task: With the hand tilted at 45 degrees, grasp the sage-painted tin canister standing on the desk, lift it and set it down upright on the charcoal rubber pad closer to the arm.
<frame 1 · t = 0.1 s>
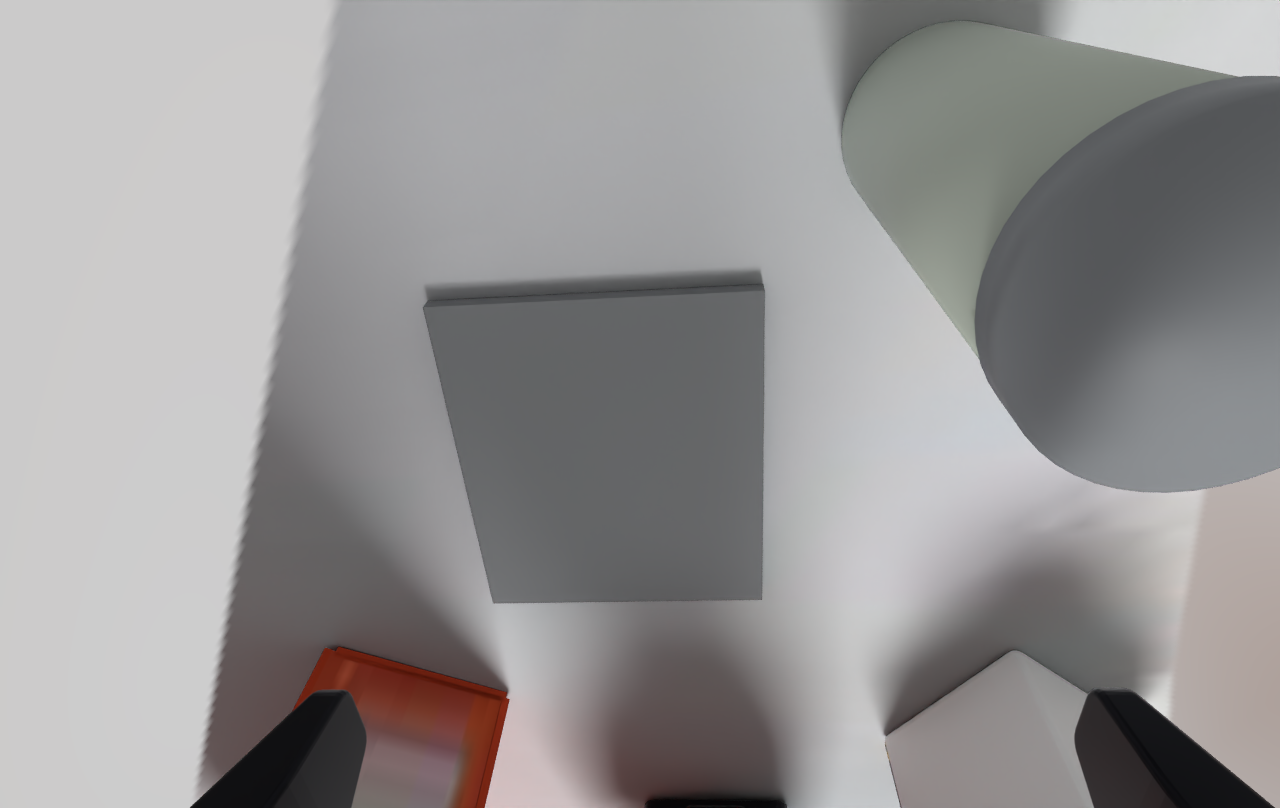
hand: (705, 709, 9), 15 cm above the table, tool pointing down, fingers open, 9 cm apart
file binder: (389, 780, 36), on the table
medicine bottle: (1002, 724, 31), on the table
charcoal pad: (611, 460, 25), on the table
tin canister: (940, 129, 19), on the table
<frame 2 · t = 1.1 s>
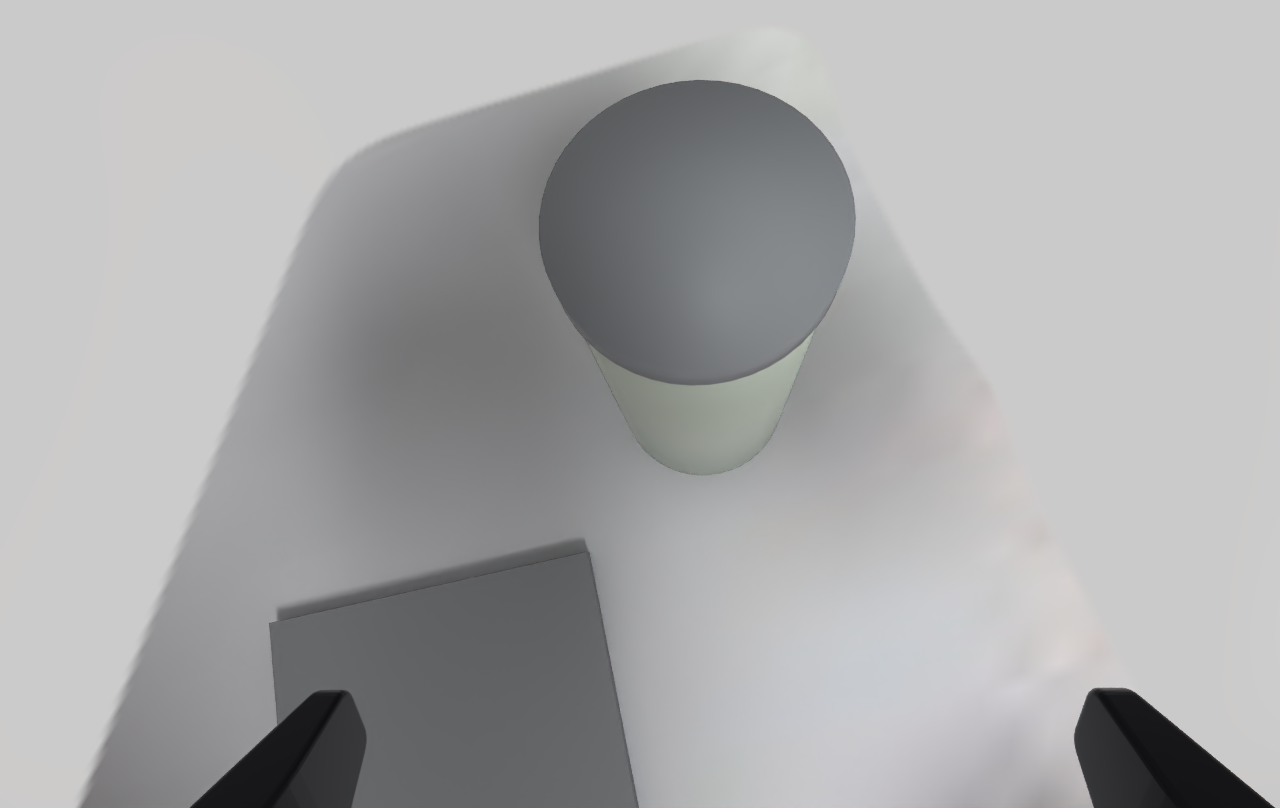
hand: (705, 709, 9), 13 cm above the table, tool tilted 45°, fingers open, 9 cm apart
charcoal pad: (461, 796, 22), on the table
tin canister: (702, 397, 24), on the table
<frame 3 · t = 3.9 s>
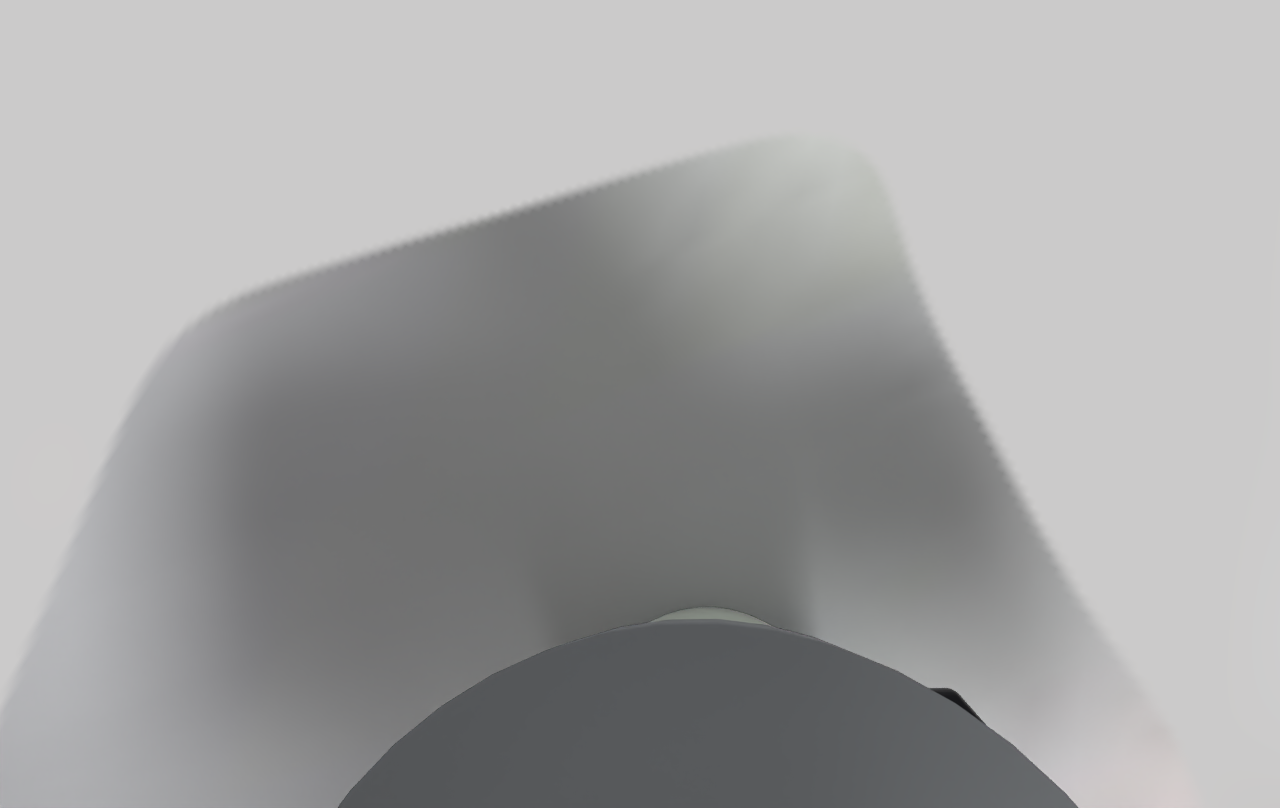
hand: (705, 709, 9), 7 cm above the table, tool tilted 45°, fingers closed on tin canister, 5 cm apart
tin canister: (709, 734, 15), on the table, touching gripper
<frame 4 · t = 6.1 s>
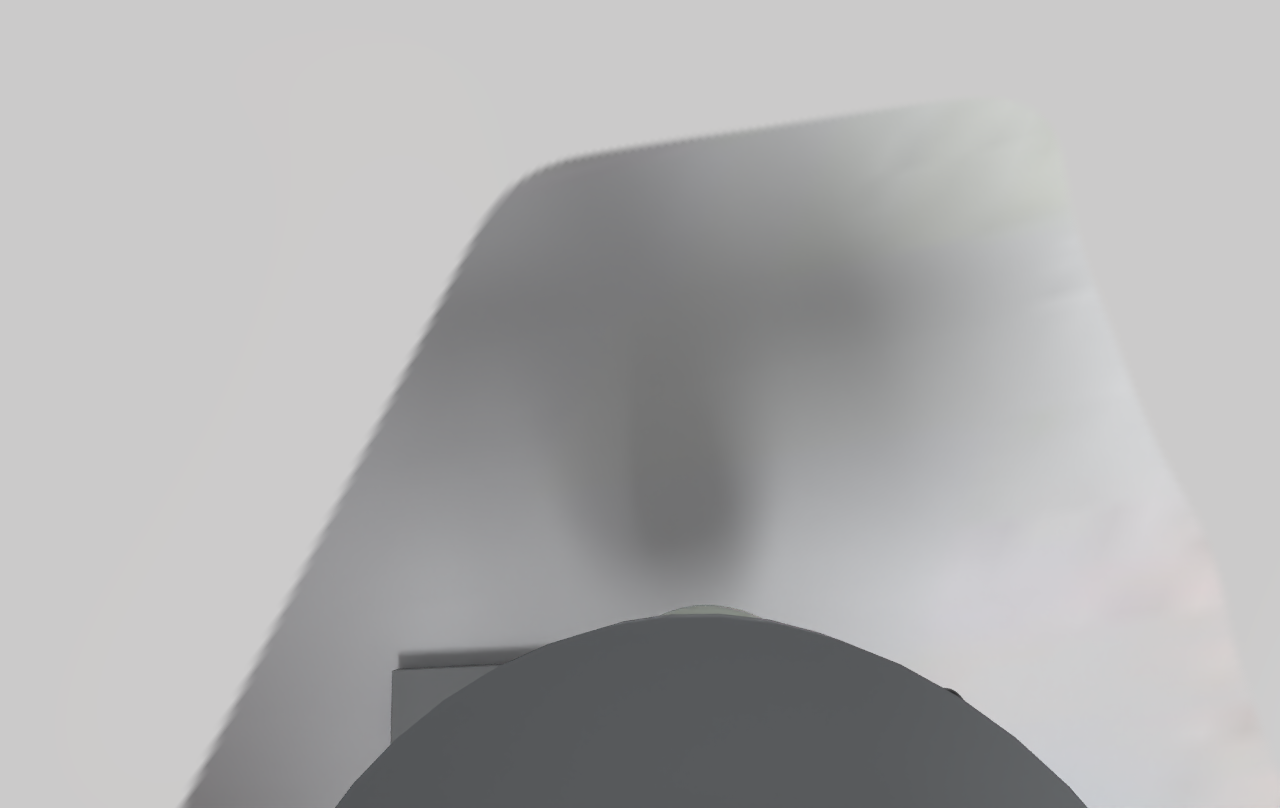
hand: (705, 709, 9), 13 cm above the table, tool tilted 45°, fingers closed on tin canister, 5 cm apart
tin canister: (710, 732, 15), point 6 cm above the table, touching gripper
when the fingers open (8 cm above the table, at t = 8.5 s): tin canister drops 1 cm, resting on charcoal pad.
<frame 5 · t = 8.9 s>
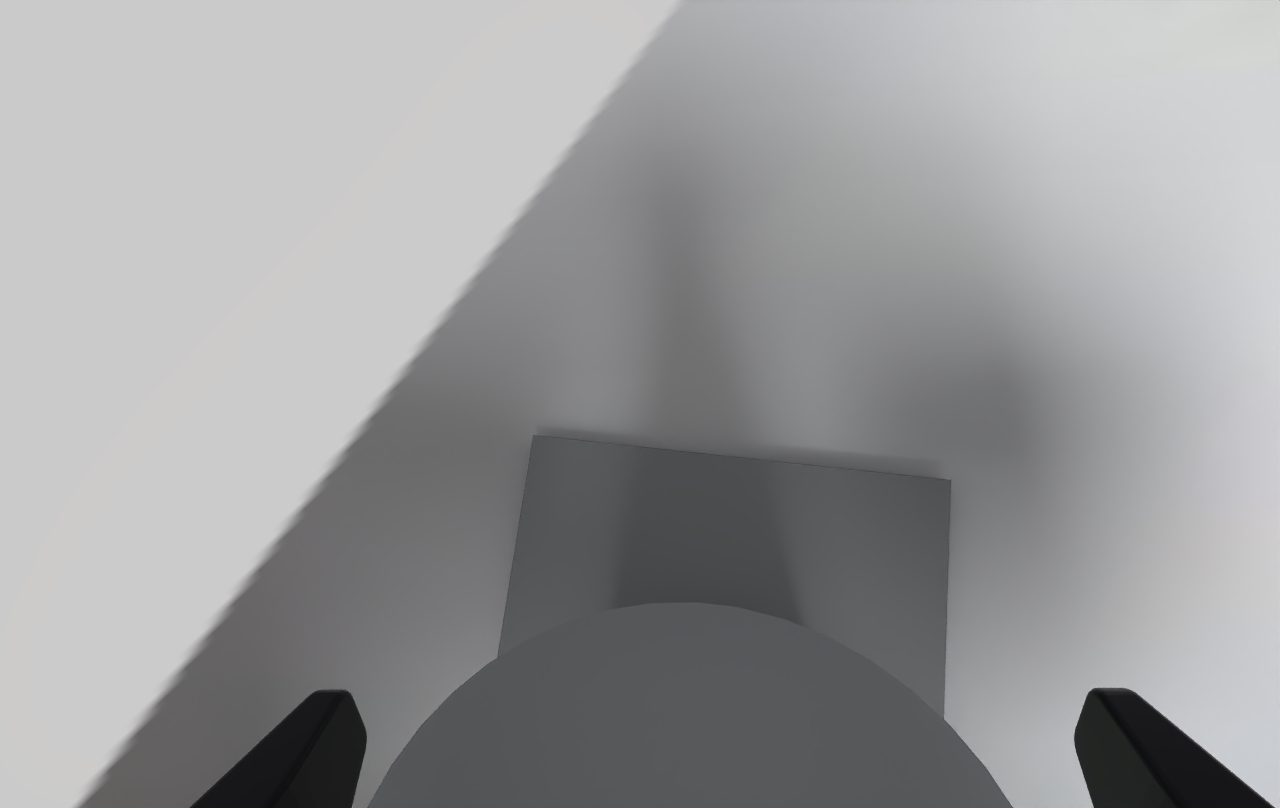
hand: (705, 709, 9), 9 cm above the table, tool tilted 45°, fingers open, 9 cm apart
charcoal pad: (709, 718, 17), on the table
tin canister: (710, 724, 17), point 1 cm above the table, touching charcoal pad
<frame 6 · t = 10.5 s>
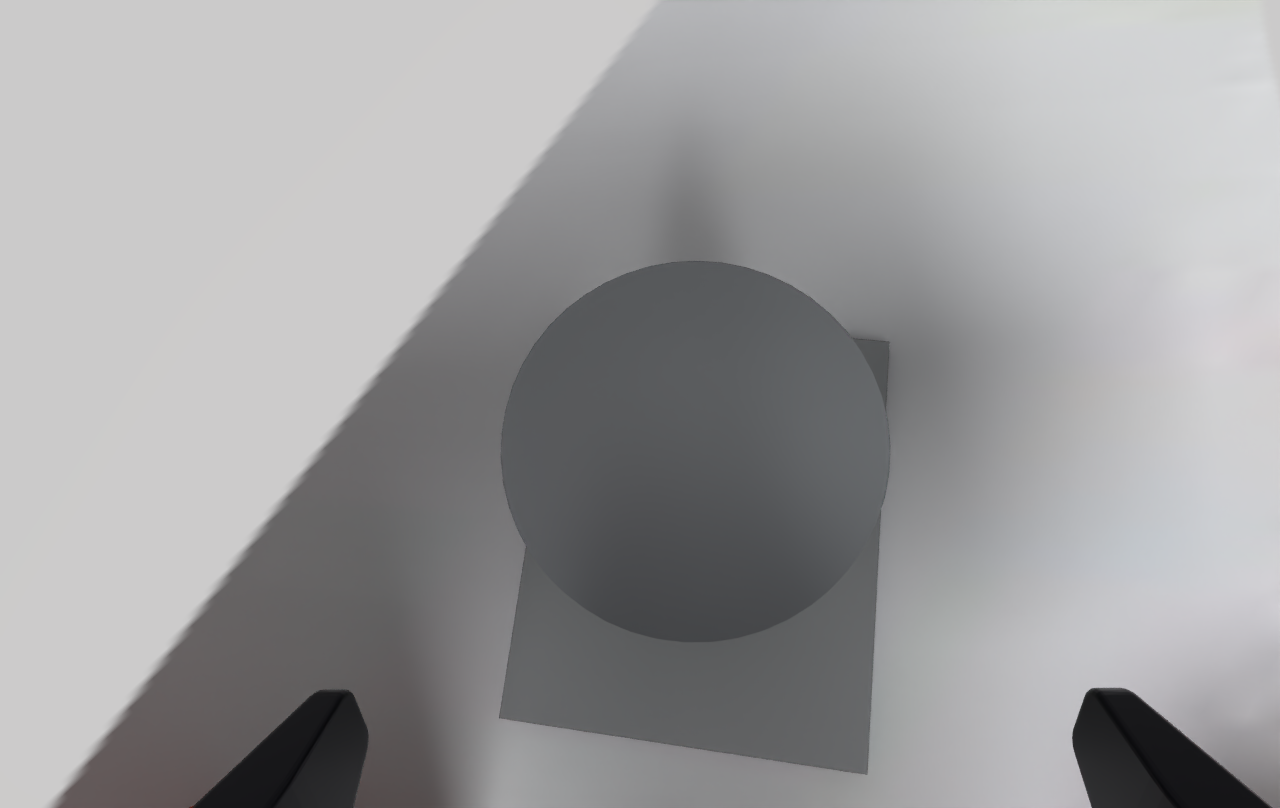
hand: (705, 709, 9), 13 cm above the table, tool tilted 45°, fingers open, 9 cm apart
charcoal pad: (701, 524, 22), on the table
tin canister: (702, 524, 22), point 1 cm above the table, touching charcoal pad
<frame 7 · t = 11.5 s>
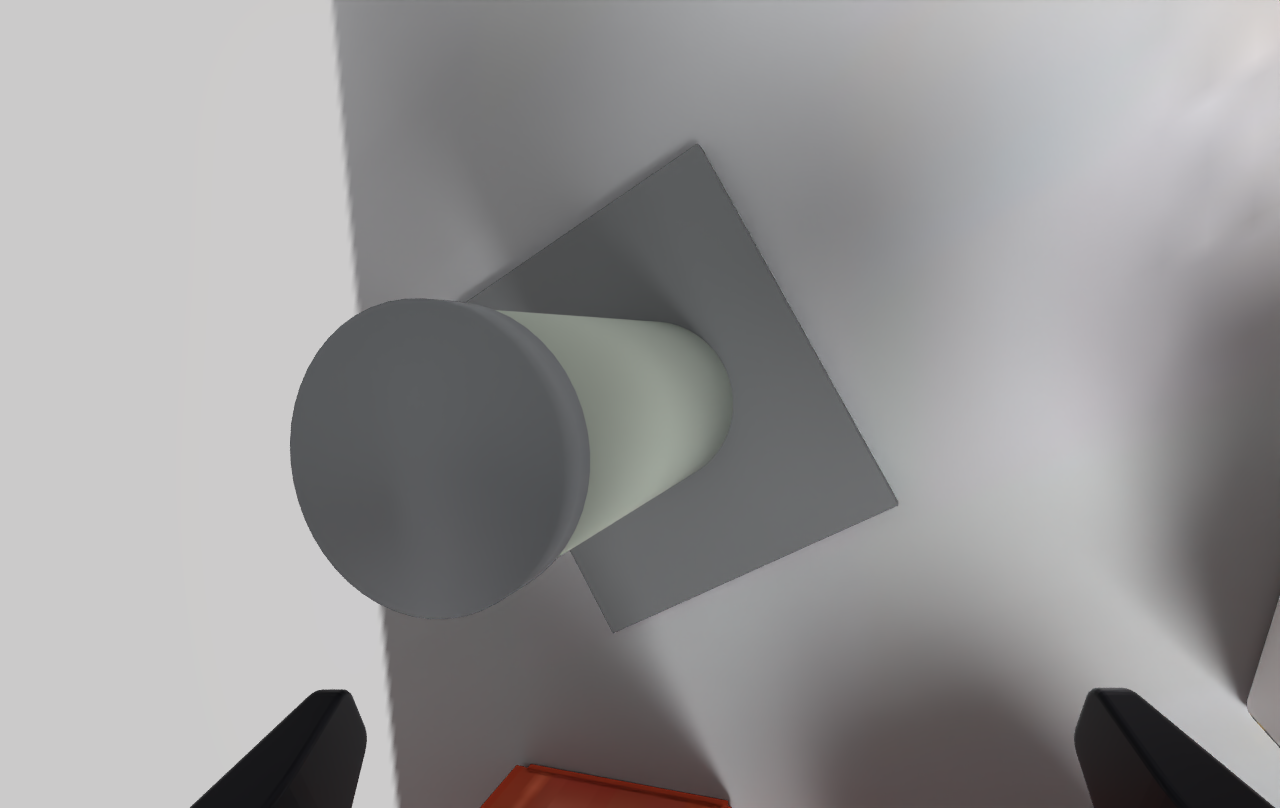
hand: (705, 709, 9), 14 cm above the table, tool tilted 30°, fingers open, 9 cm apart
charcoal pad: (657, 399, 24), on the table
tin canister: (653, 402, 23), point 1 cm above the table, touching charcoal pad
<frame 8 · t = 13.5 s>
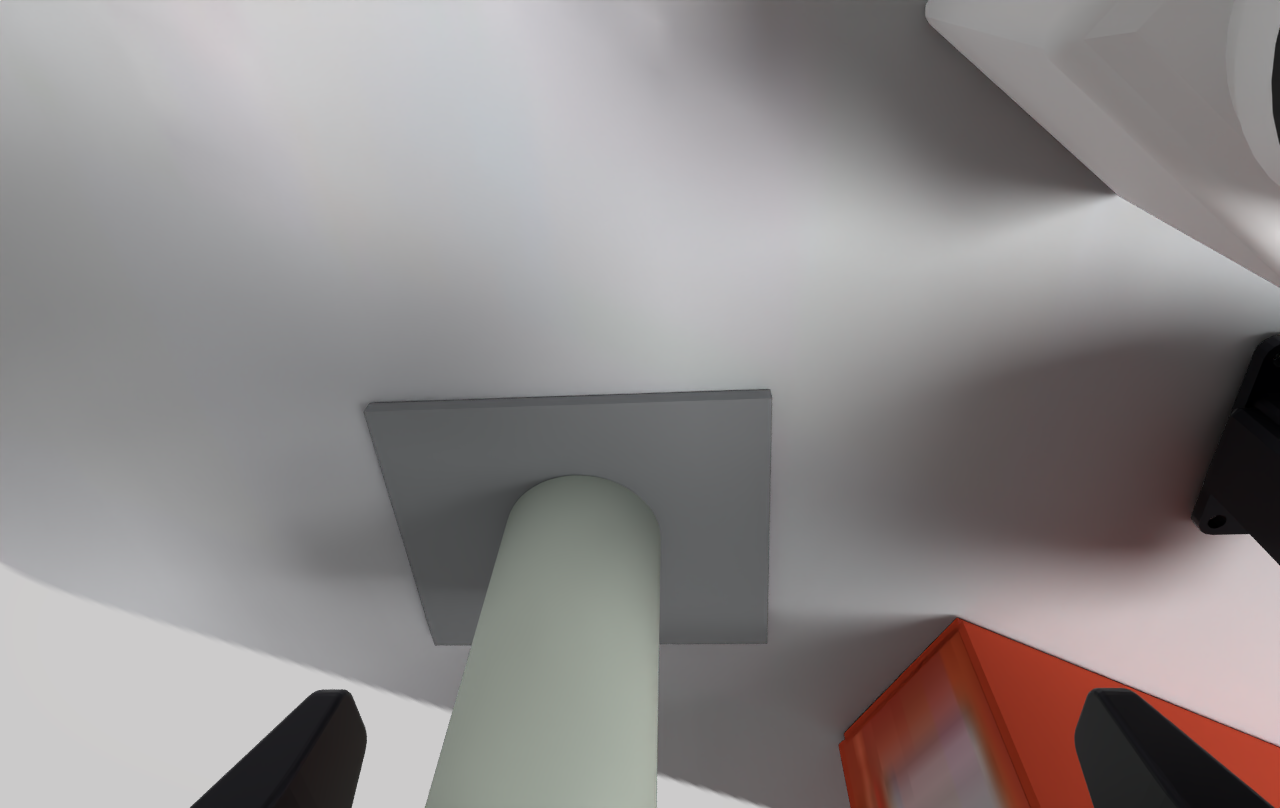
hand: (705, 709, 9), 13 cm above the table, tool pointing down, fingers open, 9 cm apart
file binder: (1083, 745, 29), on the table
charcoal pad: (584, 527, 25), on the table
tin canister: (583, 537, 24), point 1 cm above the table, touching charcoal pad
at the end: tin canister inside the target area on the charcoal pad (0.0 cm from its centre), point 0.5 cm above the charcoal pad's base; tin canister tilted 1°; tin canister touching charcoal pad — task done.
